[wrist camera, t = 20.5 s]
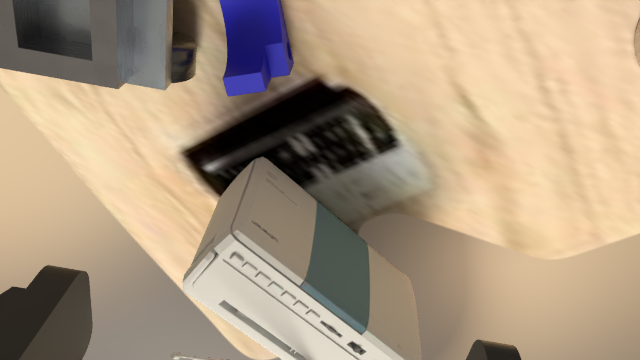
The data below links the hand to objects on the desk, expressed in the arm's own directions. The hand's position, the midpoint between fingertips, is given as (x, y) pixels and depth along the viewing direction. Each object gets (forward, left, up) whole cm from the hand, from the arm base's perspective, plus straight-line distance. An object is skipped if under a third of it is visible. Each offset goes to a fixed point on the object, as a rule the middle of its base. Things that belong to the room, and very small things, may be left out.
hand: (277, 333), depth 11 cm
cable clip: (+7, +2, -36) cm, 37 cm away
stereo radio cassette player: (-2, +24, -36) cm, 44 cm away
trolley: (+17, +3, -36) cm, 40 cm away
